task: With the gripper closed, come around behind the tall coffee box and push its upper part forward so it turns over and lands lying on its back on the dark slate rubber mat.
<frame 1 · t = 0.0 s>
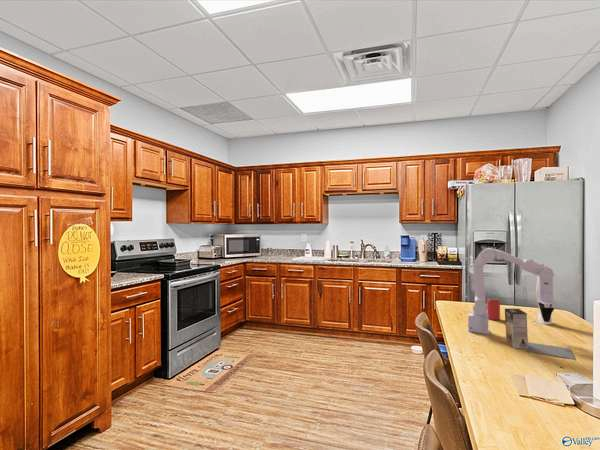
hand: (545, 319, 165), 10 cm above the table, tool pointing down, fingers open, 7 cm apart
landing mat: (549, 350, 152), on the table
beer can: (493, 319, 203), on the table
skyscraper: (544, 323, 194), on the table
coffee box: (517, 345, 159), on the table, touching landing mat
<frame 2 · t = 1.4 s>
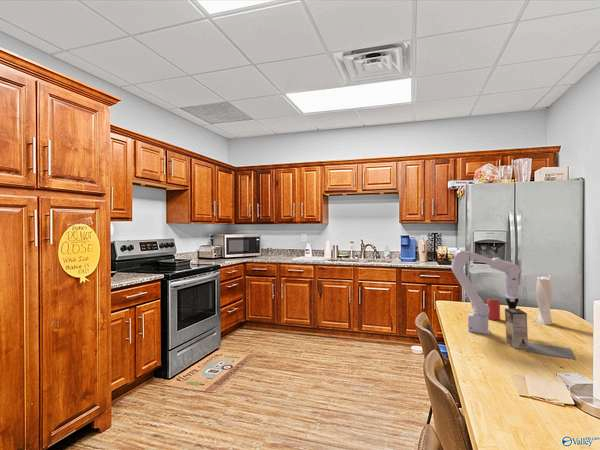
hand: (512, 312, 177), 10 cm above the table, tool pointing down, fingers closed
nothing on the table moved.
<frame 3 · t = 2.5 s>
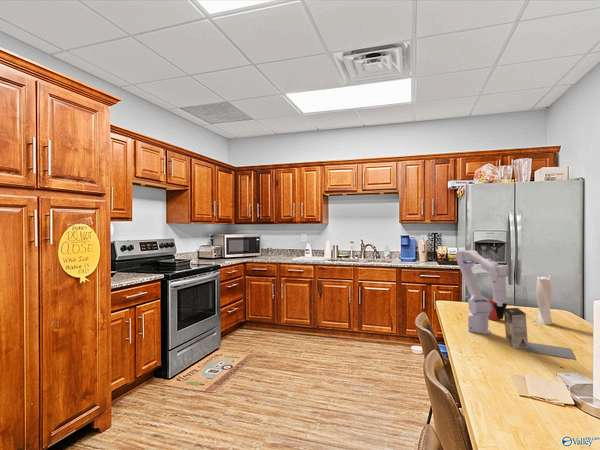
hand: (500, 318, 166), 11 cm above the table, tool pointing down, fingers closed
coffee box: (517, 345, 159), on the table, touching gripper
everything else where it was.
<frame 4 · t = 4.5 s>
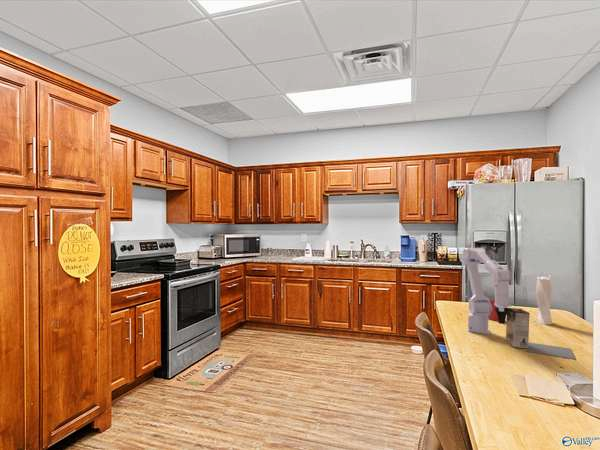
hand: (501, 323, 162), 9 cm above the table, tool pointing down, fingers closed
coffee box: (516, 345, 159), on the table, touching gripper, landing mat
everything else where it was.
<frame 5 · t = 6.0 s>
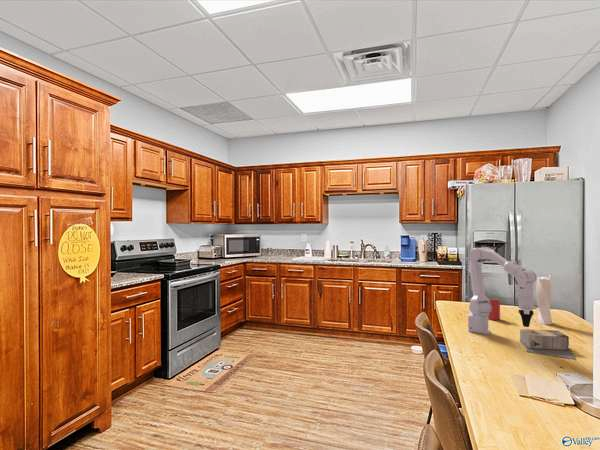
hand: (526, 326, 157), 9 cm above the table, tool pointing down, fingers closed
coffee box: (523, 338, 158), point 3 cm above the table, touching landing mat
everything else where it was.
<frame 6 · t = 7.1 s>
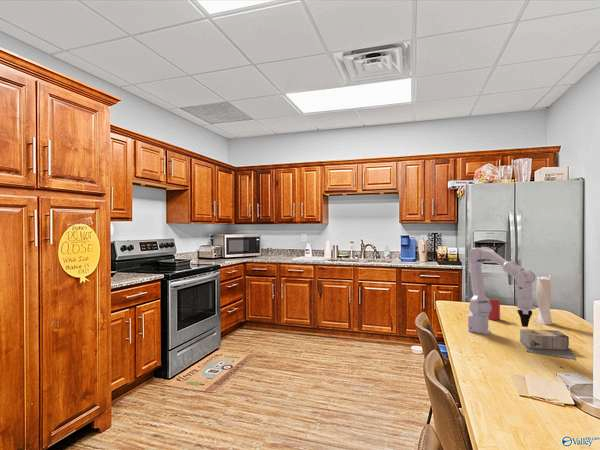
hand: (524, 326, 157), 9 cm above the table, tool pointing down, fingers closed
nothing on the table moved.
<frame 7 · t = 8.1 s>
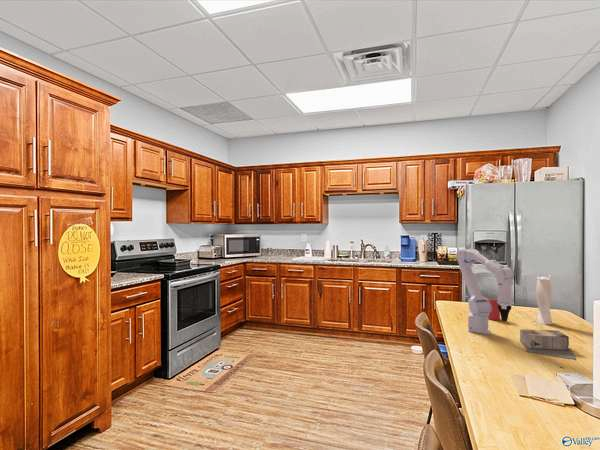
hand: (504, 320, 165), 10 cm above the table, tool pointing down, fingers closed
nothing on the table moved.
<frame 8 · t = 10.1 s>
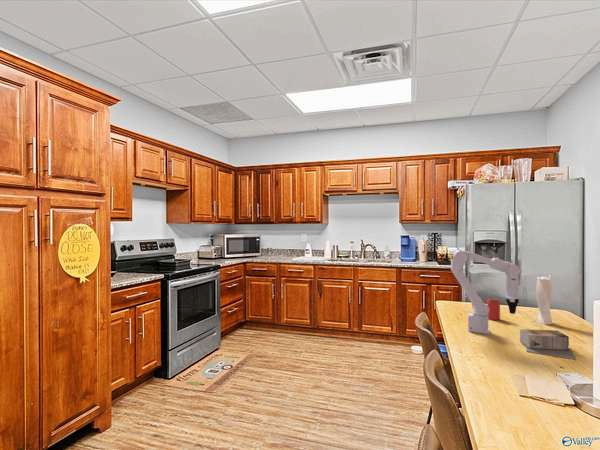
hand: (512, 313, 176), 10 cm above the table, tool pointing down, fingers closed
nothing on the table moved.
at the end: coffee box tilted 90°; coffee box inside the target area (2.2 cm from its centre), point 3.5 cm above the table; coffee box touching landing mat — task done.
